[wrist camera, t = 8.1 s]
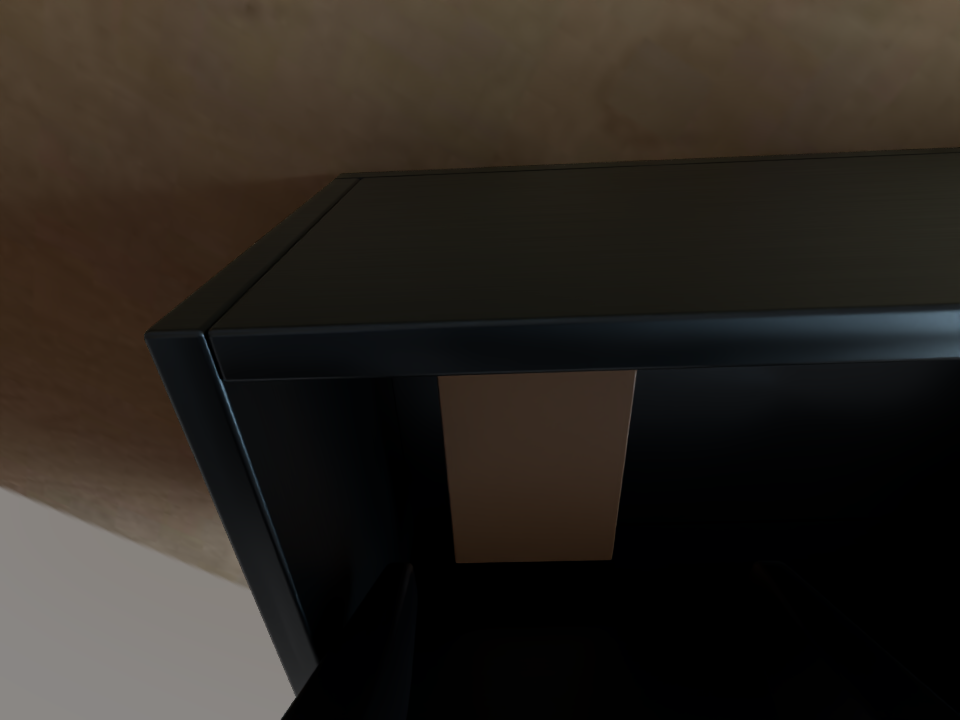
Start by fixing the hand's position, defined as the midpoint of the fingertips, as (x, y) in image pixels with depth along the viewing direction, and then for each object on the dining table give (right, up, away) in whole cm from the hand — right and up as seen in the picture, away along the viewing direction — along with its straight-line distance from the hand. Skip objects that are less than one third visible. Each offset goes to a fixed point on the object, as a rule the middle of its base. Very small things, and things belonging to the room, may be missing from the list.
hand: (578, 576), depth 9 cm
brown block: (0, +3, +5) cm, 6 cm away
